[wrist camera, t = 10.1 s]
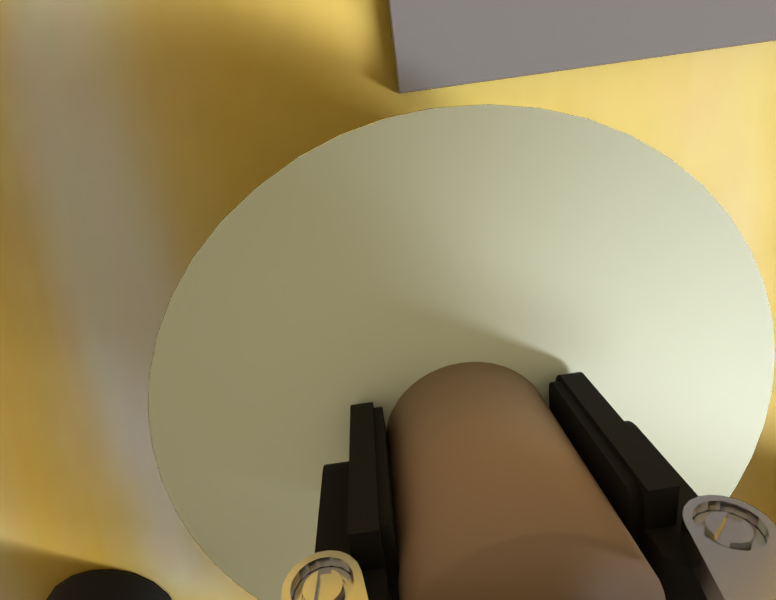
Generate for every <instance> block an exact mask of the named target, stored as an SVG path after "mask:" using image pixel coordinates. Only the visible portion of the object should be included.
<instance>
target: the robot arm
mask: <svg viewBox="0 0 776 600" xmlns="http://www.w3.org/2000/svg"><path fill="white" fill-rule="evenodd" d="M549 409H550V410H551V412H552V413H553V415H554V416H555V418H556V420H557V421H558V423H559V424H560V426H561V427H562V429H563V430H564V432H565V434H566V435H567V437H568V438H569V440H570V441H571V443H572V444H573V446H574V448H575V449H576V451H577V452H578V454H579V455H580V457H581V459H582V460H583V462H584V463H585V465H586V466H587V468H588V469H589V471H590V473H591V474H592V476H593V477H594V479H595V480H596V482H597V483H598V485H599V487H600V488H601V490H602V491H603V493H604V494H605V496H606V497H607V499H608V501H609V502H610V504H611V505H612V507H613V508H614V510H615V511H616V513H617V515H618V516H619V518H620V519H621V521H622V522H623V524H624V526H625V527H626V529H627V530H628V532H629V533H630V535H631V536H632V538H633V540H634V541H635V543H636V544H637V546H638V547H639V549H640V550H641V552H642V554H643V555H644V557H645V558H646V560H647V561H648V563H649V564H650V566H651V568H652V569H653V571H654V572H655V574H656V575H657V577H658V578H659V580H660V583H661V585H662V587H663V590H664V594H665V599H666V600H776V525H775V524H774V523H773V522H772V521H771V520H770V519H769V518H768V517H767V516H766V515H765V514H764V513H762V512H761V511H759V510H758V509H756V508H755V507H754V506H752V505H749V504H747V503H745V502H743V501H741V500H738V499H734V498H730V497H727V496H720V495H704V496H698V495H697V494H696V493H695V492H694V491H693V489H692V488H691V487H690V486H689V485H688V484H687V483H686V481H685V480H684V479H683V478H682V477H681V476H680V475H679V473H678V472H677V471H676V470H675V469H674V468H673V467H672V466H671V464H670V463H669V462H668V461H667V460H666V459H665V458H664V456H663V455H662V454H661V453H660V452H659V451H658V450H657V449H656V447H655V446H654V445H653V444H652V443H651V442H650V441H649V439H648V438H647V437H646V436H645V435H644V434H643V433H642V431H641V430H640V429H639V428H638V427H637V426H636V425H635V424H634V423H633V422H631V421H624V420H623V419H622V418H621V417H620V416H619V414H618V413H617V412H616V411H615V410H614V409H613V407H612V406H611V405H610V404H609V403H608V402H607V400H606V399H605V398H604V397H603V396H602V395H601V393H600V392H599V391H598V390H597V389H596V388H595V386H594V385H593V384H592V383H591V382H590V381H589V379H588V378H587V377H586V376H585V375H584V374H583V373H582V372H575V373H569V374H562V375H558V376H557V377H556V381H555V382H550V384H549ZM398 576H399V564H398V553H397V542H396V530H395V519H394V508H393V497H392V486H391V475H390V464H389V452H388V441H387V432H386V426H385V419H384V413H383V407H376V408H374V405H373V402H368V403H361V404H354V405H351V406H350V440H349V461H347V462H340V463H333V464H326V465H324V466H323V472H322V482H321V493H320V503H319V513H318V523H317V534H316V544H315V553H314V554H312V555H310V556H307V557H305V558H304V559H303V560H301V561H300V562H299V563H297V564H296V565H295V566H294V567H293V568H292V570H291V571H290V572H289V573H288V575H287V577H286V579H285V581H284V583H283V585H282V593H281V600H399V590H398Z"/></svg>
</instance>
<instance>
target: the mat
mask: <svg viewBox="0 0 776 600" xmlns="http://www.w3.org/2000/svg"><path fill="white" fill-rule="evenodd" d="M388 6H389V14H390V23H391V32H392V41H393V49H394V58H395V67H396V75H397V84H398V93H399V94H400V93H407V92H414V91H421V90H428V89H435V88H442V87H449V86H456V85H463V84H470V83H477V82H484V81H492V80H499V79H506V78H513V77H520V76H527V75H534V74H541V73H548V72H555V71H562V70H569V69H576V68H584V67H591V66H598V65H605V64H612V63H619V62H626V61H633V60H640V59H647V58H654V57H661V56H669V55H676V54H683V53H690V52H697V51H704V50H711V49H718V48H725V47H732V46H739V45H746V44H753V43H761V42H768V41H775V40H776V0H388Z"/></svg>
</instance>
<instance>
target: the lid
mask: <svg viewBox="0 0 776 600" xmlns="http://www.w3.org/2000/svg"><path fill="white" fill-rule="evenodd" d="M774 363H775V347H774V331H773V319H772V314H771V310H770V305H769V301H768V297H767V292H766V288H765V284H764V281H763V279H762V276H761V274H760V271H759V269H758V267H757V264H756V262H755V259H754V257H753V254H752V252H751V249H750V248H749V246H748V244H747V243H746V241H745V240H744V238H743V236H742V235H741V233H740V231H739V230H738V228H737V227H736V225H735V223H734V222H733V220H732V218H731V217H730V215H729V214H728V213H727V212H726V211H725V210H724V209H723V207H722V206H721V205H720V204H719V203H718V202H717V201H716V199H715V198H714V197H713V196H712V195H711V194H710V193H709V191H708V190H707V189H706V188H705V187H704V186H703V185H702V184H701V183H700V182H699V181H697V180H696V179H695V178H694V177H692V176H691V175H690V174H689V173H688V172H686V171H685V170H684V169H683V168H681V167H680V166H679V165H678V164H677V163H675V162H674V161H673V160H672V159H670V158H669V157H667V156H666V155H664V154H662V153H660V152H659V151H657V150H655V149H654V148H652V147H650V146H648V145H647V144H645V143H643V142H641V141H640V140H638V139H636V138H635V137H633V136H631V135H629V134H626V133H623V132H621V131H618V130H616V129H613V128H610V127H608V126H605V125H603V124H600V123H597V122H595V121H592V120H590V119H587V118H583V117H578V116H574V115H569V114H564V113H560V112H555V111H551V110H546V109H542V108H533V107H519V106H505V105H491V104H487V105H469V106H455V107H441V108H430V109H425V110H421V111H416V112H411V113H406V114H402V115H397V116H392V117H388V118H384V119H381V120H378V121H376V122H373V123H370V124H367V125H365V126H362V127H359V128H356V129H354V130H351V131H348V132H345V133H343V134H340V135H338V136H336V137H335V138H333V139H331V140H329V141H327V142H325V143H323V144H321V145H319V146H318V147H316V148H314V149H312V150H310V151H308V152H306V153H304V154H302V155H301V156H299V157H298V158H296V159H295V160H294V161H292V162H291V163H289V164H288V165H287V166H285V167H284V168H282V169H281V170H280V171H278V172H277V173H276V174H274V175H273V176H271V177H270V178H269V179H267V180H266V181H264V182H263V183H262V184H261V185H259V186H258V187H257V188H255V189H254V190H253V191H252V192H251V193H250V194H249V195H248V196H247V197H246V198H245V199H244V200H243V201H242V202H241V203H240V204H239V205H238V206H237V207H235V208H234V209H233V210H232V211H231V212H230V213H229V214H228V215H227V216H226V217H225V218H224V219H223V220H222V221H221V222H220V223H219V225H218V226H217V227H216V229H215V230H214V231H213V232H212V234H211V235H210V236H209V238H208V239H207V240H206V241H205V243H204V244H203V245H202V247H201V248H200V249H199V250H198V252H197V253H196V254H195V256H194V257H193V258H192V260H191V262H190V264H189V266H188V267H187V269H186V271H185V273H184V275H183V276H182V278H181V280H180V282H179V284H178V285H177V287H176V289H175V291H174V293H173V294H172V296H171V299H170V302H169V304H168V307H167V310H166V313H165V315H164V318H163V321H162V323H161V326H160V329H159V331H158V334H157V339H156V344H155V349H154V354H153V359H152V364H151V368H150V376H149V400H148V414H149V423H150V431H151V440H152V447H153V451H154V454H155V458H156V461H157V465H158V469H159V472H160V476H161V479H162V482H163V484H164V486H165V488H166V491H167V493H168V495H169V497H170V500H171V502H172V504H173V506H174V508H175V511H176V512H177V514H178V515H179V517H180V519H181V520H182V522H183V523H184V525H185V526H186V528H187V530H188V531H189V533H190V534H191V536H192V537H193V539H194V540H195V541H196V542H197V544H198V545H199V546H200V547H201V548H202V550H203V551H204V552H205V553H206V554H207V555H208V557H209V558H210V559H211V560H212V561H213V562H214V564H215V565H217V566H218V567H219V568H220V569H221V570H222V571H223V572H224V573H225V574H226V575H228V576H229V577H230V578H231V579H232V580H233V581H234V582H235V583H236V584H238V585H239V586H240V587H241V588H243V589H244V590H246V591H247V592H249V593H250V594H251V595H253V596H254V597H256V598H257V599H259V600H281V593H282V585H283V583H284V581H285V579H286V577H287V575H288V573H289V572H290V571H291V570H292V568H293V567H294V566H295V565H296V564H297V563H299V562H300V561H301V560H303V559H304V558H305V557H307V556H310V555H312V554H314V553H315V544H316V534H317V523H318V513H319V503H320V493H321V482H322V472H323V466H324V465H326V464H333V463H340V462H347V461H349V440H350V406H351V405H354V404H361V403H368V402H373V405H374V408H376V407H383V413H384V419H385V426H386V432H387V441H388V452H389V464H390V475H391V486H392V497H393V508H394V519H395V530H396V542H397V553H398V564H399V576H398V590H399V600H666V599H665V594H664V590H663V587H662V585H661V583H660V580H659V578H658V577H657V575H656V574H655V572H654V571H653V569H652V568H651V566H650V564H649V563H648V561H647V560H646V558H645V557H644V555H643V554H642V552H641V550H640V549H639V547H638V546H637V544H636V543H635V541H634V540H633V538H632V536H631V535H630V533H629V532H628V530H627V529H626V527H625V526H624V524H623V522H622V521H621V519H620V518H619V516H618V515H617V513H616V511H615V510H614V508H613V507H612V505H611V504H610V502H609V501H608V499H607V497H606V496H605V494H604V493H603V491H602V490H601V488H600V487H599V485H598V483H597V482H596V480H595V479H594V477H593V476H592V474H591V473H590V471H589V469H588V468H587V466H586V465H585V463H584V462H583V460H582V459H581V457H580V455H579V454H578V452H577V451H576V449H575V448H574V446H573V444H572V443H571V441H570V440H569V438H568V437H567V435H566V434H565V432H564V430H563V429H562V427H561V426H560V424H559V423H558V421H557V420H556V418H555V416H554V415H553V413H552V412H551V410H550V409H549V384H550V382H555V381H556V377H557V376H558V375H562V374H569V373H575V372H582V373H583V374H584V375H585V376H586V377H587V378H588V379H589V381H590V382H591V383H592V384H593V385H594V386H595V388H596V389H597V390H598V391H599V392H600V393H601V395H602V396H603V397H604V398H605V399H606V400H607V402H608V403H609V404H610V405H611V406H612V407H613V409H614V410H615V411H616V412H617V413H618V414H619V416H620V417H621V418H622V419H623V420H624V421H631V422H633V423H634V424H635V425H636V426H637V427H638V428H639V429H640V430H641V431H642V433H643V434H644V435H645V436H646V437H647V438H648V439H649V441H650V442H651V443H652V444H653V445H654V446H655V447H656V449H657V450H658V451H659V452H660V453H661V454H662V455H663V456H664V458H665V459H666V460H667V461H668V462H669V463H670V464H671V466H672V467H673V468H674V469H675V470H676V471H677V472H678V473H679V475H680V476H681V477H682V478H683V479H684V480H685V481H686V483H687V484H688V485H689V486H690V487H691V488H692V489H693V491H694V492H695V493H696V494H697V495H698V496H704V495H720V496H727V497H730V495H731V494H732V492H733V491H734V489H735V488H736V486H737V484H738V482H739V481H740V479H741V477H742V475H743V473H744V471H745V469H746V467H747V465H748V464H749V462H750V460H751V458H752V456H753V453H754V450H755V448H756V445H757V442H758V440H759V437H760V434H761V432H762V429H763V427H764V423H765V419H766V415H767V410H768V406H769V402H770V398H771V393H772V386H773V374H774Z"/></svg>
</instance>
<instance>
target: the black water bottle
mask: <svg viewBox="0 0 776 600" xmlns="http://www.w3.org/2000/svg"><path fill="white" fill-rule="evenodd" d="M46 600H171V598H170V596H169V595H168V594H167V593H166V592H165V591H163V590H162V589H161V588H160V587H158V586H157V585H156V584H155V583H153V582H151V581H149V580H147V579H144V578H142V577H140V576H138V575H136V574H131V573H126V572H121V571H116V570H96V571H89V572H85V573H81V574H78V575H74V576H71V577H70V578H68V579H67V580H65V581H64V582H62V583H60V584H59V585H57V586H56V587H55V588H54V590H53V591H52V592H51V594H50V595H49V597H48V598H47V599H46Z"/></svg>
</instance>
